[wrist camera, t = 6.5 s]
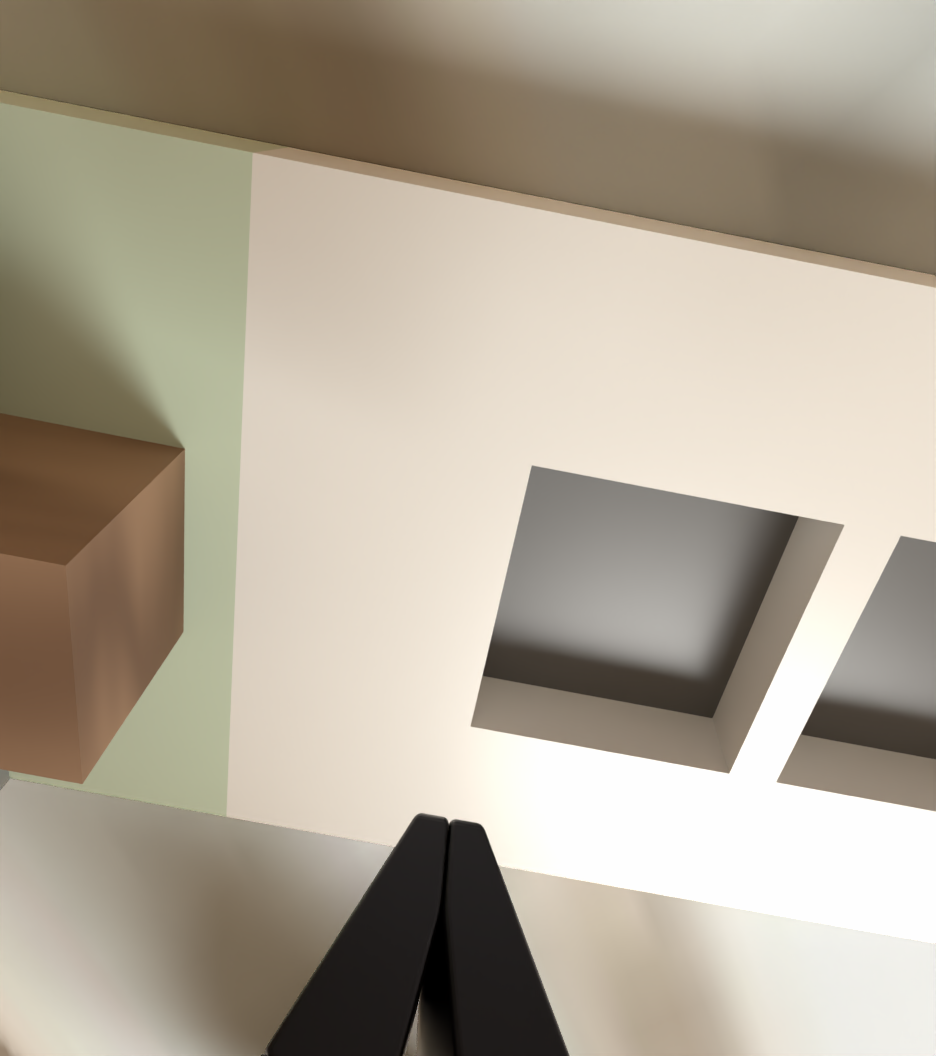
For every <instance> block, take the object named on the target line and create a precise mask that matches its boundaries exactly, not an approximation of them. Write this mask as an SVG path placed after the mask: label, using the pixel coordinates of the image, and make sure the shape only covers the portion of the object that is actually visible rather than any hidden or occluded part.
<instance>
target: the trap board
mask: <svg viewBox="0 0 936 1056" xmlns="http://www.w3.org/2000/svg"><path fill="white" fill-rule="evenodd" d="M0 413H3V414H8V415H13V416H18V417H23V418H29V419H34V420H39V421H44V422H49V423H54V424H60V425H65V426H70V427H75V428H80V429H85V430H90V431H96V432H101V433H106V434H111V435H116V436H121V437H127V438H132V439H137V440H142V441H147V442H152V443H158V444H163V445H168V446H173V447H178V448H183V449H185V511H184V632H183V634H182V635H181V637H180V638H179V640H178V641H177V643H176V644H175V646H174V647H173V649H172V650H171V652H170V653H169V655H168V656H167V658H166V659H165V661H164V662H163V664H162V665H161V667H160V668H159V670H158V671H157V673H156V674H155V676H154V677H153V679H152V680H151V682H150V683H149V685H148V686H147V688H146V689H145V691H144V692H143V694H142V695H141V697H140V698H139V700H138V701H137V703H136V704H135V706H134V707H133V709H132V710H131V712H130V713H129V715H128V716H127V718H126V719H125V721H124V722H123V724H122V725H121V727H120V728H119V730H118V731H117V733H116V734H115V736H114V737H113V739H112V740H111V742H110V743H109V745H108V746H107V748H106V750H105V751H104V753H103V754H102V756H101V757H100V759H99V760H98V762H97V763H96V765H95V766H94V768H93V769H92V771H91V772H90V774H89V775H88V777H87V778H86V780H85V781H84V783H83V784H79V783H73V782H68V781H62V780H57V779H51V778H46V777H40V776H35V775H29V774H24V773H18V772H13V771H7V770H2V769H0V790H1V789H2V788H3V786H4V785H5V784H6V783H7V781H8V780H9V779H10V778H11V779H17V780H22V781H28V782H33V783H39V784H45V785H50V786H56V787H61V788H67V789H73V790H78V791H84V792H89V793H95V794H101V795H106V796H112V797H117V798H123V799H129V800H134V801H140V802H145V803H151V804H157V805H162V806H168V807H173V808H179V809H184V810H190V811H196V812H201V813H207V814H212V815H218V816H224V817H229V818H235V819H240V820H246V821H252V822H257V823H263V824H268V825H274V826H280V827H285V828H291V829H296V830H302V831H308V832H313V833H319V834H324V835H330V836H335V837H341V838H347V839H352V840H358V841H363V842H369V843H375V844H380V845H386V846H391V847H395V846H396V844H397V843H398V841H399V840H400V838H401V837H402V835H403V833H404V832H405V830H406V829H407V827H408V826H409V824H410V823H411V821H412V819H413V818H414V817H415V816H416V815H417V814H419V813H425V814H431V815H436V816H442V817H445V818H446V819H448V822H449V823H450V821H451V820H454V819H459V820H464V821H470V822H475V823H479V824H481V825H482V826H483V827H484V829H485V831H486V834H487V836H488V839H489V842H490V844H491V847H492V850H493V852H494V855H495V858H496V860H497V863H498V866H503V867H509V868H514V869H520V870H526V871H531V872H537V873H542V874H548V875H554V876H559V877H565V878H570V879H576V880H582V881H587V882H593V883H598V884H604V885H610V886H615V887H621V888H626V889H632V890H638V891H643V892H649V893H654V894H660V895H665V896H671V897H677V898H682V899H688V900H693V901H699V902H705V903H710V904H716V905H721V906H727V907H733V908H738V909H744V910H749V911H755V912H761V913H766V914H772V915H777V916H783V917H789V918H794V919H800V920H805V921H811V922H816V923H822V924H828V925H833V926H839V927H844V928H850V929H856V930H861V931H867V932H872V933H878V934H884V935H889V936H895V937H900V938H906V939H912V940H917V941H923V942H928V943H934V944H936V275H931V274H926V273H921V272H916V271H911V270H906V269H901V268H896V267H891V266H886V265H881V264H876V263H871V262H866V261H861V260H856V259H851V258H846V257H840V256H835V255H830V254H825V253H820V252H815V251H810V250H805V249H800V248H795V247H790V246H785V245H780V244H775V243H770V242H765V241H760V240H755V239H750V238H745V237H740V236H735V235H730V234H725V233H719V232H714V231H709V230H704V229H699V228H694V227H689V226H684V225H679V224H674V223H669V222H664V221H659V220H654V219H649V218H644V217H639V216H634V215H629V214H624V213H619V212H614V211H609V210H604V209H598V208H593V207H588V206H583V205H578V204H573V203H568V202H563V201H558V200H553V199H548V198H543V197H538V196H533V195H528V194H523V193H518V192H513V191H508V190H503V189H498V188H493V187H488V186H483V185H477V184H472V183H467V182H462V181H457V180H452V179H447V178H442V177H437V176H432V175H427V174H422V173H417V172H412V171H407V170H402V169H397V168H392V167H387V166H382V165H377V164H372V163H367V162H362V161H356V160H351V159H346V158H341V157H336V156H331V155H326V154H321V153H316V152H311V151H306V150H301V149H296V148H291V147H286V146H281V145H276V144H271V143H266V142H261V141H256V140H251V139H246V138H241V137H235V136H230V135H225V134H220V133H215V132H210V131H205V130H200V129H195V128H190V127H185V126H180V125H175V124H170V123H165V122H160V121H155V120H150V119H145V118H140V117H135V116H130V115H125V114H120V113H114V112H109V111H104V110H99V109H94V108H89V107H84V106H79V105H74V104H69V103H64V102H59V101H54V100H49V99H44V98H39V97H34V96H29V95H24V94H19V93H14V92H9V91H4V90H0Z"/></svg>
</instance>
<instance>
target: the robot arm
mask: <svg viewBox="0 0 936 1056" xmlns="http://www.w3.org/2000/svg"><path fill="white" fill-rule="evenodd" d="M419 998H420V999H419ZM418 1002H419V1008H418V1024H417V1050H416V1056H569V1053H568V1050H567V1048H566V1045H565V1042H564V1040H563V1037H562V1034H561V1032H560V1029H559V1026H558V1024H557V1021H556V1018H555V1016H554V1013H553V1010H552V1008H551V1005H550V1002H549V1000H548V997H547V994H546V992H545V989H544V986H543V983H542V981H541V978H540V975H539V973H538V970H537V967H536V965H535V962H534V959H533V957H532V954H531V951H530V949H529V946H528V943H527V941H526V938H525V935H524V933H523V930H522V927H521V925H520V922H519V919H518V917H517V914H516V911H515V909H514V906H513V903H512V901H511V898H510V895H509V893H508V890H507V887H506V884H505V882H504V879H503V876H502V874H501V871H500V868H499V866H498V863H497V860H496V858H495V855H494V852H493V850H492V847H491V844H490V842H489V839H488V836H487V834H486V831H485V829H484V827H483V826H482V825H481V824H479V823H475V822H470V821H464V820H459V819H454V820H451V821H450V823H449V822H448V819H446V818H445V817H442V816H436V815H431V814H425V813H419V814H417V815H416V816H415V817H414V818H413V819H412V821H411V823H410V824H409V826H408V827H407V829H406V830H405V832H404V833H403V835H402V837H401V838H400V840H399V841H398V843H397V844H396V846H395V847H394V849H393V851H392V852H391V854H390V855H389V857H388V858H387V860H386V862H385V863H384V865H383V866H382V868H381V869H380V871H379V872H378V874H377V876H376V877H375V879H374V880H373V882H372V883H371V885H370V886H369V888H368V890H367V891H366V893H365V894H364V896H363V897H362V899H361V900H360V902H359V904H358V905H357V907H356V908H355V910H354V911H353V913H352V914H351V916H350V918H349V919H348V921H347V922H346V924H345V925H344V927H343V929H342V930H341V932H340V933H339V935H338V936H337V938H336V939H335V941H334V943H333V944H332V946H331V947H330V949H329V950H328V952H327V953H326V955H325V957H324V958H323V960H322V961H321V963H320V964H319V966H318V967H317V969H316V971H315V972H314V974H313V975H312V977H311V978H310V980H309V982H308V983H307V985H306V986H305V988H304V989H303V991H302V992H301V994H300V996H299V997H298V999H297V1000H296V1002H295V1003H294V1005H293V1006H292V1008H291V1010H290V1011H289V1013H288V1014H287V1016H286V1017H285V1019H284V1020H283V1022H282V1024H281V1025H280V1027H279V1028H278V1030H277V1031H276V1033H275V1035H274V1036H273V1038H272V1039H271V1041H270V1042H269V1044H268V1045H267V1047H266V1050H265V1054H262V1055H261V1056H405V1053H406V1049H407V1045H408V1041H409V1037H410V1033H411V1030H412V1026H413V1022H414V1018H415V1014H416V1010H417V1006H418Z"/></svg>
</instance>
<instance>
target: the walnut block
mask: <svg viewBox="0 0 936 1056" xmlns="http://www.w3.org/2000/svg"><path fill="white" fill-rule="evenodd" d="M184 511H185V449H183V448H178V447H173V446H168V445H163V444H158V443H152V442H147V441H142V440H137V439H132V438H127V437H121V436H116V435H111V434H106V433H101V432H96V431H90V430H85V429H80V428H75V427H70V426H65V425H60V424H54V423H49V422H44V421H39V420H34V419H29V418H23V417H18V416H13V415H8V414H3V413H0V769H2V770H7V771H13V772H18V773H24V774H29V775H35V776H40V777H46V778H51V779H57V780H62V781H68V782H73V783H79V784H83V783H84V781H85V780H86V778H87V777H88V775H89V774H90V772H91V771H92V769H93V768H94V766H95V765H96V763H97V762H98V760H99V759H100V757H101V756H102V754H103V753H104V751H105V750H106V748H107V746H108V745H109V743H110V742H111V740H112V739H113V737H114V736H115V734H116V733H117V731H118V730H119V728H120V727H121V725H122V724H123V722H124V721H125V719H126V718H127V716H128V715H129V713H130V712H131V710H132V709H133V707H134V706H135V704H136V703H137V701H138V700H139V698H140V697H141V695H142V694H143V692H144V691H145V689H146V688H147V686H148V685H149V683H150V682H151V680H152V679H153V677H154V676H155V674H156V673H157V671H158V670H159V668H160V667H161V665H162V664H163V662H164V661H165V659H166V658H167V656H168V655H169V653H170V652H171V650H172V649H173V647H174V646H175V644H176V643H177V641H178V640H179V638H180V637H181V635H182V634H183V632H184Z"/></svg>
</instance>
